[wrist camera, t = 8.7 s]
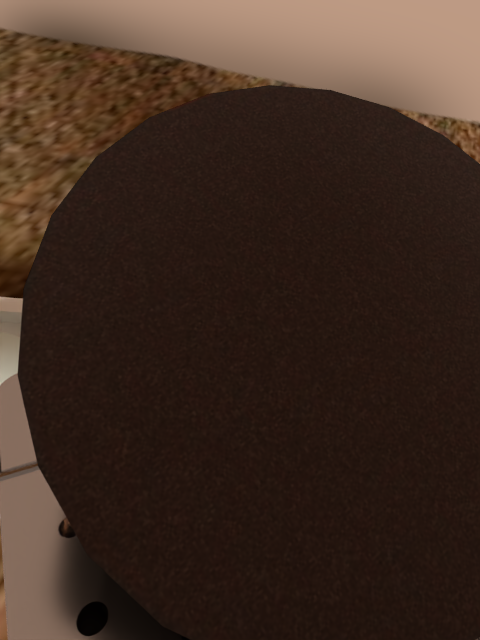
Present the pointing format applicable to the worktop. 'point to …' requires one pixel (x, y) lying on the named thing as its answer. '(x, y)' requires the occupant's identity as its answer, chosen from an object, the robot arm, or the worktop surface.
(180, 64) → the worktop surface
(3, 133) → the worktop surface
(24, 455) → the robot arm
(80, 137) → the worktop surface
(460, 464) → the deodorant
